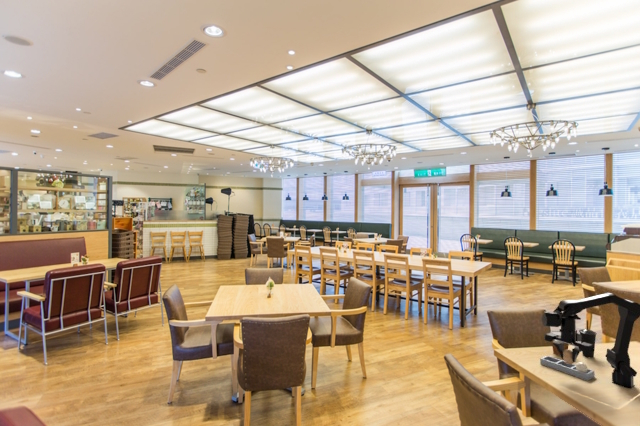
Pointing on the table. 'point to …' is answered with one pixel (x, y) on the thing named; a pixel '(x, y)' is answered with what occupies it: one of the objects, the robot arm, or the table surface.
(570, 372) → the egg tray
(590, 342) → the drinking cup
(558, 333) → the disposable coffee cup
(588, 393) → the table surface
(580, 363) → the cream egg
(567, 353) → the brown egg
